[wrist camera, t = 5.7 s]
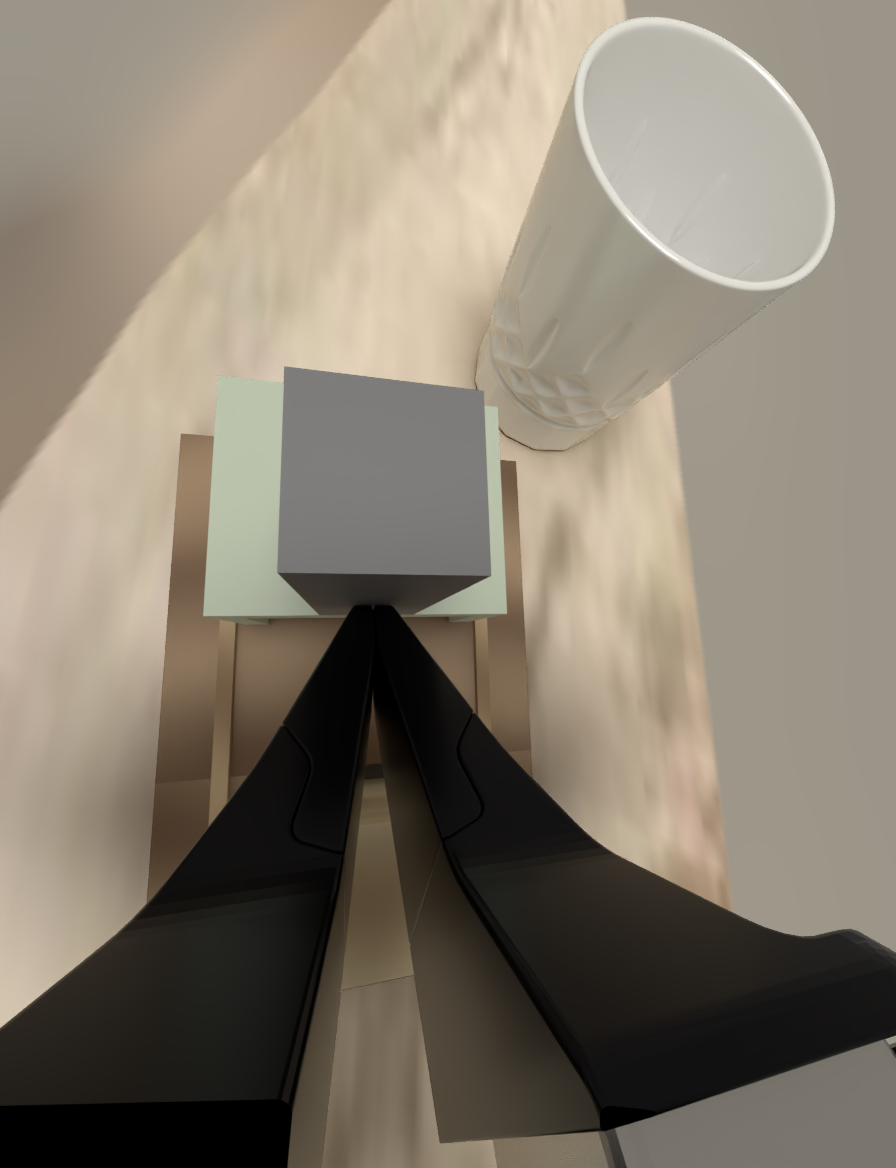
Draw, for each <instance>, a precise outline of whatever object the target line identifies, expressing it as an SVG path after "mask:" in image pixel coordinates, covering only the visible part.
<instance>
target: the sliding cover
mask: <svg viewBox="0 0 896 1168" xmlns="http://www.w3.org/2000/svg"><path fill="white" fill-rule="evenodd" d="M356 605H370V606H372V608H374V606H376V605H391V606H393V607H394V608H395V609H396V610H397V612H398V613H399V614H400V615H401V617H449V622H470V621H475V620H479V619H484V618H489V617H494V616H499V615H504V614H507V600H506V578H505V556H504V534H503V512H502V490H501V468H500V446H499V424H498V407H490V406H484V391H480V390H472V389H464V388H456V387H447V386H439V385H431V384H423V383H415V382H407V381H399V380H390V379H382V378H374V377H366V376H358V375H350V374H341V373H333V372H325V371H317V370H309V369H301V368H293V367H284V383H280V382H271V381H262V380H254V379H245V378H236V377H227V376H219V375H218V379H217V395H216V412H215V428H214V445H213V461H212V478H211V494H210V511H209V527H208V544H207V560H206V577H205V593H204V610H203V616H204V617H209V618H214V619H219V620H224V621H229V622H234V623H239V624H243V625H267V624H268V618H346V616H347V615H348V613H349V611H350V610H351V608H352V607H353V606H356Z"/></svg>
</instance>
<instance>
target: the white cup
mask: <svg viewBox="0 0 896 1168" xmlns="http://www.w3.org/2000/svg"><path fill="white" fill-rule="evenodd" d="M834 219H835V198H834V190H833V184H832V179H831V175H830V171H829V168H828V165H827V162H826V159H825V156H824V153H823V151H822V148H821V146H820V144H819V142H818V139H817V138H816V136H815V134H814V132H813V130H812V128H811V126H810V124H809V123H808V121H807V119H806V118H805V116H804V115H803V113H802V112H801V110H800V109H799V107H798V106H797V105H796V103H795V102H794V100H793V99H792V98H791V97H790V95H789V94H788V93H787V92H786V90H785V89H784V88H783V87H782V86H781V85H780V84H779V82H778V81H777V80H776V79H775V78H774V77H773V76H772V75H771V74H770V73H769V72H768V71H767V70H766V69H765V68H763V67H762V66H761V65H760V64H759V63H758V62H757V61H756V60H754V59H753V58H752V57H751V56H749V55H748V54H747V53H745V52H744V51H743V50H741V49H740V48H738V47H737V46H735V45H734V44H732V43H730V42H729V41H728V40H726V39H724V38H722V37H720V36H719V35H717V34H715V33H713V32H711V31H708V30H706V29H704V28H702V27H699V26H696V25H693V24H691V23H687V22H683V21H680V20H676V19H670V18H663V17H640V18H634V19H629V20H626V21H623V22H620V23H617V24H615V25H613V26H611V27H610V28H608V29H606V30H605V31H604V32H602V33H601V34H600V35H599V36H598V37H597V38H596V39H595V40H594V41H593V42H592V43H591V44H590V46H589V47H588V48H587V50H586V52H585V53H584V55H583V57H582V59H581V62H580V64H579V67H578V69H577V72H576V75H575V78H574V81H573V83H572V86H571V89H570V92H569V95H568V97H567V100H566V103H565V106H564V109H563V111H562V114H561V117H560V120H559V123H558V125H557V128H556V131H555V134H554V137H553V139H552V142H551V145H550V148H549V150H548V153H547V156H546V159H545V162H544V164H543V167H542V170H541V173H540V175H539V178H538V181H537V184H536V186H535V189H534V192H533V195H532V197H531V200H530V203H529V206H528V208H527V211H526V214H525V217H524V219H523V222H522V225H521V228H520V230H519V233H518V236H517V239H516V241H515V244H514V247H513V250H512V253H511V255H510V258H509V261H508V264H507V268H506V271H505V274H504V278H503V281H502V284H501V286H500V288H499V291H498V294H497V297H496V300H495V304H494V307H493V310H492V314H491V318H490V323H489V326H488V328H487V331H486V334H485V336H484V339H483V342H482V344H481V347H480V350H479V355H478V362H477V369H476V376H475V382H476V386H477V389H478V390H480V391H484V406H490V407H498V424H499V428H500V429H501V430H502V431H503V432H504V433H505V434H506V435H507V436H509V437H511V438H513V439H515V440H517V441H519V442H521V443H523V444H525V445H527V446H529V447H531V448H533V449H536V450H566V449H568V448H570V447H572V446H574V445H576V444H578V443H580V442H582V441H584V440H585V439H587V438H589V437H590V436H592V435H593V434H594V433H596V432H597V431H598V430H599V429H601V428H602V427H603V426H604V425H606V424H607V423H608V422H609V421H611V420H614V419H615V418H617V417H619V416H620V415H622V414H623V413H625V412H626V411H627V410H629V409H630V408H631V407H633V406H634V405H635V404H637V403H638V402H639V401H640V400H642V399H643V398H645V397H646V396H648V395H649V394H650V393H652V392H653V391H655V390H656V389H657V388H659V387H660V386H661V385H663V384H664V383H666V382H667V381H669V380H670V379H672V378H673V377H674V376H676V375H677V374H678V373H680V372H681V371H682V370H683V369H685V368H686V367H687V366H689V365H690V364H691V363H693V362H694V361H695V360H697V359H698V358H699V357H700V356H702V355H703V354H704V353H706V352H707V351H708V350H710V349H711V348H712V347H713V346H715V345H716V344H717V343H719V342H720V341H721V340H723V339H724V338H725V337H727V336H728V335H729V334H730V333H732V332H733V331H734V330H736V329H737V328H738V327H739V326H741V325H742V324H743V323H745V322H746V321H747V320H749V319H750V318H751V317H753V316H754V315H755V314H757V313H758V312H759V311H760V310H762V309H763V308H765V307H766V306H767V305H768V304H770V303H771V302H772V301H774V300H775V299H776V298H778V297H779V296H780V295H782V294H783V293H784V292H786V291H787V290H788V289H790V288H791V287H792V286H794V285H795V284H796V283H798V282H799V281H800V280H802V279H803V278H804V277H806V276H807V275H808V274H809V273H810V272H811V271H812V270H813V269H814V268H815V267H816V266H817V265H818V264H819V262H820V261H821V259H822V258H823V256H824V254H825V252H826V250H827V248H828V246H829V243H830V240H831V237H832V233H833V228H834Z"/></svg>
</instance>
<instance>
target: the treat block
mask: <svg viewBox="0 0 896 1168" xmlns="http://www.w3.org/2000/svg"><path fill="white" fill-rule="evenodd" d="M411 975H414V971H413V964H412V958H411V951H410V943H409V938H408V931H407V925H406V918H405V912H404V905H403V899H402V892H401V886H400V879H399V872H398V866H397V859H396V853H395V846H394V840H393V833H392V827H391V820H390V814H389V807H388V801H387V794H386V788H385V781H384V778H377V779H367V780H364V787H363V796H362V805H361V814H360V823H359V832H358V841H357V850H356V859H355V868H354V877H353V886H352V895H351V904H350V913H349V922H348V931H347V941H346V950H345V955H344V968H343V977H342V986H341V990H345V989H349V988H354V987H359V986H363V985H368V984H373V983H378V982H382V981H387V980H392V979H397V978H401V977H406V976H411Z"/></svg>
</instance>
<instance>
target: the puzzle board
mask: <svg viewBox="0 0 896 1168" xmlns="http://www.w3.org/2000/svg"><path fill="white" fill-rule="evenodd" d="M213 445H214V436H204V435H192V434H181V440H180V453H179V467H178V481H177V495H176V508H175V522H174V536H173V549H172V563H171V577H170V590H169V604H168V618H167V632H166V645H165V659H164V673H163V686H162V700H161V714H160V728H159V741H158V755H157V769H156V782H155V796H154V810H153V823H152V837H151V851H150V865H149V878H148V892H147V903H148V902H149V901H150V899H151V898H152V897H153V896H154V895H155V894H156V893H157V891H158V890H159V889H160V888H161V886H162V885H163V884H164V883H165V881H166V880H167V879H168V878H169V876H170V875H171V874H172V873H173V871H174V870H175V869H176V868H177V866H178V865H179V864H180V862H181V861H182V860H183V859H184V857H185V856H186V855H187V853H188V852H189V851H190V850H191V848H192V847H193V846H194V844H195V843H196V842H197V841H198V839H199V838H200V837H201V835H202V834H203V833H204V832H205V830H206V829H207V828H208V827H209V825H210V824H211V823H212V821H213V820H214V819H215V818H216V816H217V815H218V814H219V812H220V811H221V810H222V809H223V807H224V806H225V805H226V803H227V802H228V801H229V800H230V798H231V797H232V796H233V794H234V793H235V792H236V790H237V789H238V787H239V786H240V785H241V783H242V782H243V781H244V779H245V778H246V777H247V775H248V774H249V773H250V771H251V770H252V768H253V767H254V765H255V764H256V762H257V761H258V759H259V758H260V756H261V755H262V753H263V752H264V750H265V749H266V747H267V745H268V744H269V742H270V741H271V739H272V737H273V736H274V734H275V733H276V731H277V729H278V728H279V726H281V725H282V721H283V720H284V718H285V716H286V715H287V713H288V712H289V710H290V708H291V707H292V705H293V703H294V702H295V700H296V698H297V697H298V695H299V693H300V692H301V690H302V689H303V687H304V685H305V684H306V682H307V680H308V679H309V677H310V675H311V674H312V672H313V670H314V669H315V667H316V666H317V664H318V662H319V661H320V659H321V657H322V656H323V654H324V652H325V651H326V649H327V647H328V646H329V644H330V643H331V641H332V639H333V638H334V636H335V634H336V633H337V631H338V629H339V628H340V626H341V624H342V623H343V621H344V620H345V618H268V624H267V625H243V624H239V623H234V622H229V621H224V620H219V619H214V618H209V617H204V616H203V610H204V593H205V577H206V560H207V544H208V527H209V511H210V494H211V478H212V461H213ZM500 468H501V490H502V512H503V534H504V556H505V578H506V600H507V614H504V615H499V616H494V617H489V618H484V619H479V620H475V621H470V622H449V617H402V618H403V619H404V621H405V622H406V623H407V625H408V626H409V627H410V628H411V630H412V631H413V632H414V634H415V635H416V636H417V637H418V639H419V640H420V641H421V643H422V644H423V645H424V646H425V648H426V649H427V650H428V652H429V653H430V654H431V656H432V657H433V658H434V659H435V661H436V662H437V663H438V665H439V666H440V667H441V668H442V670H443V671H444V672H445V674H446V675H447V676H448V677H449V679H450V680H451V681H452V683H453V684H454V685H455V687H456V688H457V689H458V690H459V692H460V693H461V694H462V696H463V697H464V698H465V699H466V701H467V702H468V703H469V705H470V706H471V707H472V709H473V710H474V712H473V713H477V715H478V716H479V717H480V719H481V720H482V721H483V723H484V724H485V725H486V727H487V728H488V729H489V730H490V731H491V733H492V734H493V735H494V736H495V737H496V739H497V740H498V741H499V742H500V744H501V745H502V746H503V747H504V748H505V749H506V750H507V752H508V753H509V754H510V755H511V756H512V757H513V758H514V759H515V760H516V761H517V762H518V763H519V764H520V766H521V767H522V768H523V769H524V770H525V771H526V772H527V773H528V774H529V775H530V776H531V777H532V765H531V745H530V726H529V706H528V687H527V667H526V648H525V628H524V609H523V590H522V570H521V551H520V531H519V512H518V492H517V473H516V461H505V460H500ZM377 778H384V775H383V768H382V762H381V755H380V748H379V742H378V735H377V729H376V722H375V716H374V707H373V699H372V713H371V723H370V732H369V741H368V750H367V760H366V769H365V778H364V780H367V779H377ZM411 976H413V975H411ZM406 977H408V976H406ZM401 978H403V977H401ZM397 979H399V978H397ZM392 980H394V979H392ZM387 981H389V980H387ZM382 982H384V981H382ZM378 983H380V982H378ZM373 984H375V983H373ZM368 985H370V984H368ZM363 986H365V985H363ZM359 987H361V986H359ZM354 988H356V987H354ZM349 989H351V988H349ZM345 990H347V989H345ZM341 991H342V990H341Z"/></svg>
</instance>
